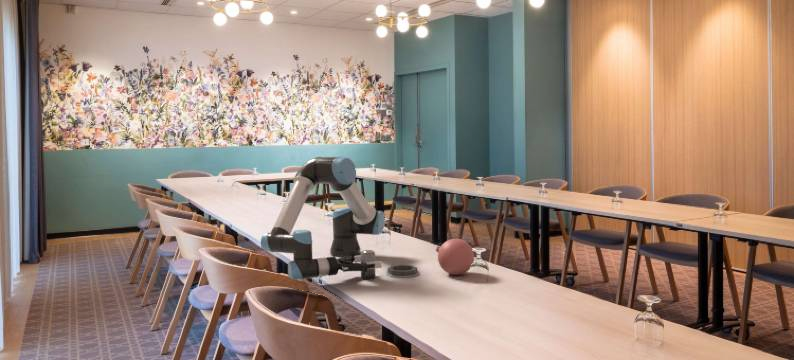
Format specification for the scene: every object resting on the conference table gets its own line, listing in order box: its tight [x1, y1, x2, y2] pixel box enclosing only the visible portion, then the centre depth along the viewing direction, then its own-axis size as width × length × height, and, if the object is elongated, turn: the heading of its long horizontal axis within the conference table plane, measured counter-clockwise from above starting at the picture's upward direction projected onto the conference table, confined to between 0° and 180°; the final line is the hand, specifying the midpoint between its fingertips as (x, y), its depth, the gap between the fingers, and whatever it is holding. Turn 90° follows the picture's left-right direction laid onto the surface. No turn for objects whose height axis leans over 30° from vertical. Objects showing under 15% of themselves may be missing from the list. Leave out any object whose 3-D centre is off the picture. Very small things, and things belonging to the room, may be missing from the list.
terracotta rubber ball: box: [435, 238, 475, 276], centre depth 265 cm, size 15×20×15 cm
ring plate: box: [386, 264, 420, 279], centre depth 266 cm, size 14×14×2 cm
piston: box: [360, 249, 376, 281], centre depth 259 cm, size 6×6×11 cm
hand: (374, 260), depth 260 cm, fingers open, 13 cm apart
